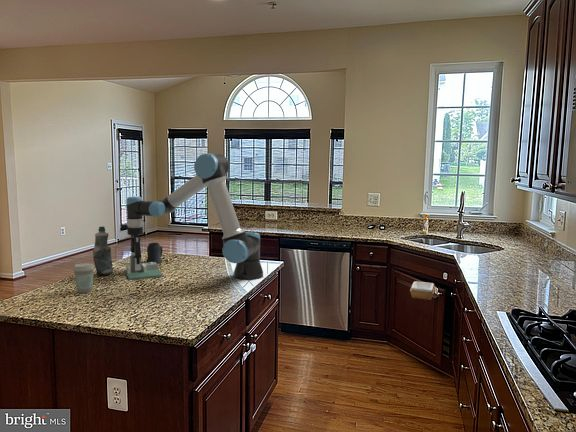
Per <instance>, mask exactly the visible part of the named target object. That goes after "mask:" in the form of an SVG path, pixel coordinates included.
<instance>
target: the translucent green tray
mask: <svg viewBox="0 0 576 432" xmlns="http://www.w3.org/2000/svg"><path fill="white" fill-rule="evenodd" d="M144 263H145V262H143V263H142V262H141V265H142V271H139V272H131V269H130V262H126V264H125V269H124V273H125V276H126V277H127V278H128V280H129V281H133V280H144V279H156V278H163V277H164V274H163V273H162V271H160V270H159V269H151V270H146V266H145V264H144Z"/></svg>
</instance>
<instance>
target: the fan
mask: <svg viewBox="0 0 576 432" xmlns="http://www.w3.org/2000/svg"><path fill="white" fill-rule="evenodd" d="M143 263H144V264H145V266H146V270H151V269H158V264H157V263H156V262H149V263H146V262H143ZM158 270H159V269H158Z"/></svg>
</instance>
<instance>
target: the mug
mask: <svg viewBox="0 0 576 432" xmlns="http://www.w3.org/2000/svg"><path fill="white" fill-rule="evenodd" d="M146 253H147V258H146V261H145V263H149V262H156V263H157V265H158V264H159V263H160V264H162V263H163V259H162V256H163V246H161V245H160V243H159V242H149V243H148V246H147V247H146ZM160 264H159V265H160Z"/></svg>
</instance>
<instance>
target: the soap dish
mask: <svg viewBox="0 0 576 432" xmlns="http://www.w3.org/2000/svg"><path fill="white" fill-rule="evenodd" d="M435 290H436V285H435V283H433V282H425V281H417V280H416V281H413V283H412V284H411V286H410V289H409V292H410V294H411V298H412V299H421V300H427V301H431V300H432V299H433V297H434V293H435Z"/></svg>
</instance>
